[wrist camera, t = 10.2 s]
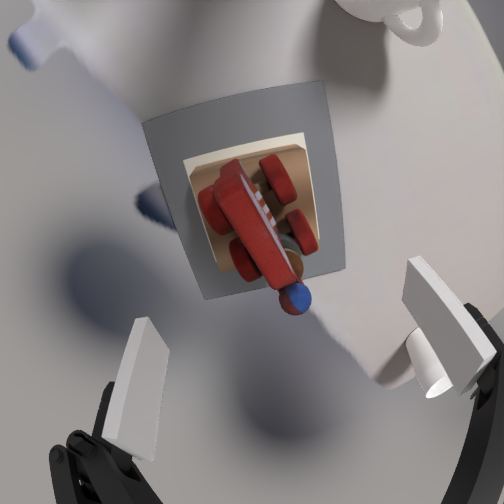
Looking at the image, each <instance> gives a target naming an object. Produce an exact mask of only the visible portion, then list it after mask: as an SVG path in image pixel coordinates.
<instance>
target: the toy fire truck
mask: <svg viewBox="0 0 504 504" xmlns="http://www.w3.org/2000/svg"><path fill="white" fill-rule="evenodd" d="M259 166H260V168H261V170H262V171H263V173H264V175H265V177H266V179H265V180H262V181H260V182H258V183H255V184H253V183H252V182H251V180H250V178H249V177H248V175H247V173H246V171H245V170H244V168H243V166H242V165H241V163H240V161H239V160H238V159H233V160H231V161H230V162H228V163H226V164H225V165H223V166H222V167H221V168H220V177H219V178H218V179H217V180H216V181H215V182H214V185H210V186H208V187H206V188H204V189H203V190H201V191H200V192H199V193H198V202H199V206H200V209H201V211H202V213H203V215H204V217H205V219H206V221H207V222H208V224H209V225H210V227H211V228H212V229H213V230H214V231H215V232H216V233H217V234H218V235H220V236H224V235H227V234H228V233H231V232H232V231H234V230H235V231H236V233H237V234H238V236H239V237H237V238H235V239H233V240H231V241H230V242H229V252H230V255H231V258H232V260H233V263H234V265H235V267H236V269H237V271H238V273H239V274H240V276H241V277H242V278H243V279H244V280H245V281H246V282H252V281H255V280H257V279H259V278H261V277H262V276H264V277H265V279H266V281H267V282H268V284H269V285H270V287H271V288H272V289H274V290H278V292H279V294H280V295H279V302H280V304H281V307H282V309H283V310H284V311H285V312H286V313H288V314H290V315H300V314H303V313H305V312H306V311H307V310H308V309H309V307H310V305H311V300H312V298H311V293H310V291H309V289H308V288H307V286H305V285H304V282H303V280H302V276H303V272H304V266H303V262H302V260H301V252H302V254H303V255H304V256H308V255H310V254H312V253H314V252H316V251H317V250H318V244H317V241H316V239H315V236H314V234H313V232H312V230H311V227H310V225H309V223H308V222H307V220H306V218H305V216H304V214H303V213H302V211H301V210H300V209H295V210H293V211H291V212H289V213H287V214H286V215H285V219H286V221H287V223H288V225H289V227H290V229H291V231H290V232H287V233H285V234H280V233H279V231H278V230H277V228H276V222H275V220H274V218H273V216H272V214H271V212H270V210H269V208H268V207H267V205H266V203H265V201H264V199H263V197H262V195H261V194H264V193H266V192H268V191H270V190H273V192H274V194H275V196H276V198H277V200H278V202H279V203H280V204H281V205H282V206H286V205H287V204H290V203H292V202H294V201H295V200H297V196H298V195H297V192H296V190H295V187H294V185H293V183H292V181H291V179H290V177H289V175H288V173H287V171H286V169H285V168H284V166H283V164H282V162H281V161H280V159H279V158H278V156H277V155H276V154H271V155H269V156H267V157H265V158H263V159H261V160H260V161H259ZM300 250H301V252H300Z"/></svg>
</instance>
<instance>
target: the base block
mask: <svg viewBox="0 0 504 504" xmlns="http://www.w3.org/2000/svg"><path fill="white" fill-rule="evenodd" d="M271 154H276V155H277V156H278V158H279V159H280V161H281V162H282V164H283V166H284V168H285V169H286V171H287V173H288V175H289V177H290V179H291V181H292V183H293V185H294V187H295V190H296V192H297V195H298V196H297V200H295V201H294V202H292V203H290V204H287V205H286V206H282V205H281V204H280V203H279V202H278V200H277V198H276V196H275V194H274V192H273V190H270V191H268V192H266V193H264V194H261V195H262V197H263V199H264V201H265V203H266V205H267V207H268V208H269V210H270V212H271V214H272V216H273V218H274V220H275V222H276V228H277V230H278V231H279V233H280V234H285V233H287V232H290V231H291V229H290V227H289V225H288V223H287V221H286V219H285V215H286V214H287V213H289V212H291V211H293V210H295V209H300V210H301V211H302V213H303V214H304V216H305V218H306V220H307V222H308V223H309V225H310V227H311V230H312V232H313V234H314V236H315V239H316V241H317V244H318V250H317V251H320V246H319V237H318V229H317V221H316V213H315V206H314V199H313V192H312V185H311V179H310V172H309V166H308V160H307V155H306V150H305V149H304V148H302V147H300V146H299V145H297V144H291V145H286V146H281V147H276V148H271V149H266V150H261V151H257V152H252V153H248V154H244V155H239V156H235V157H231V158H227V159H223V160H219V161H215V162H212V163H208V164H204V165H201V166H197V167H195V168H194V170H193V171H192V173H191V175H190V176H189V178H190V181H191V184H192V187H193V191H194V194H195V197H196V200H197V203H198V206H199V202H198V193H199V192H200V191H201V190H203V189H204V188H206V187H208V186H210V185H214V182H215V181H216V180H217V179H218V178H219V177H220V168H221V167H222V166H223V165H225V164H226V163H228V162H230V161H231V160H233V159H238V160H239V161H240V163H241V165H242V166H243V168H244V170H245V171H246V173H247V175H248V177H249V178H250V180H251V182H252V183H253V184H255V183H258V182H260V181H262V180H265V179H266V177H265V175H264V173H263V171H262V170H261V168H260V166H259V161H260V160H261V159H263V158H265V157H267V156H269V155H271ZM199 210H200V213H201V216H202V219H203V222H204V225H205V228H206V231H207V234H208V237H209V240H210V243H211V246H212V249H213V252H214V255H215V258H216V261H217V264H218V267H219V270H220V272H221V273H224V272H229V271H233V270H237V269H236V267H235V265H234V263H233V260H232V258H231V255H230V252H229V242H230V241H231V240H233V239H235V238H237V237H239V236H238V234H237V233H236V231H235V230H234V231H232V232H231V233H228V234H227V235H224V236H220V235H218V234H217V233H216V232H215V231H214V230H213V229H212V228H211V227H210V225H209V224H208V222H207V221H206V219H205V217H204V215H203V213H202V211H201V209H200V206H199ZM317 251H316V252H317ZM300 252H301V250H300ZM301 255H303V254H302V252H301Z"/></svg>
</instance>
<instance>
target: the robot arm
mask: <svg viewBox="0 0 504 504" xmlns="http://www.w3.org/2000/svg"><path fill="white" fill-rule="evenodd" d="M402 301H403V303H404V304H405V306H406V307H407V309H408V310H409V312H410V313H411V315H412V316H413V318H414V319H415V321H416V323H417V324H418V326H419V327H420V329H421V330H422V332H423V334H424V335H425V337H426V339H427V340H428V342H429V344H430V345H431V347H432V349H433V350H434V352H435V354H436V356H437V357H438V359H439V361H440V363H441V364H442V366H443V368H444V370H445V372H446V373H447V375H448V377H449V379H450V381H451V383H452V385H453V387H454V389H455V390H456V392H457V394H458V396H460V395H462V394H463V393H465V392H467V391H468V390H470V389H471V388H472V387H473V386H474V384H475V383H476V382H477V384H478V388H477V389H476V390H475V391H474V393H473V394H472V395H471V398H470V399H472V398H473V397H474V396H475V395H476V397H475V402H474V407H473V412H472V416H471V420H470V425H469V428H468V432H467V436H466V439H465V442H464V446H463V449H462V452H461V455H460V458H459V461H458V464H457V467H456V469H455V472H454V475H453V477H452V480H451V482H450V485H449V487H448V489H447V492H446V494H445V496H444V498H443V500H442V503H441V504H497V502H498V500H499V497H500V494H501V492H502V488H503V486H504V344H503V342H502V341H501V340H500V338H499V337H498V335H497V334H496V333H495V331H494V330H493V328H492V327H491V326H490V325H489V324H488V322H487V320H486V319H485V318H483V315H482V314H481V313H480V312H479V310H478V309H477V308H476V307H474V306H473V305H471V304H470V303H467V304H464V305H462V303H461V302H460V301H459V300H458V298H457V297H456V296H455V295H454V294H453V292H452V291H451V290H450V289H449V288H448V287H447V285H446V284H445V283H444V282H443V281H442V280H441V278H440V277H439V276H438V275H437V274H436V273H435V272H434V271H433V269H432V268H431V267H430V266H429V265H428V264H427V263H426V262H425V261H424V260H423V259H422V258H421V256H417V257H414V258H410V259H408V262H407V270H406V277H405V284H404V290H403V296H402ZM169 355H170V350H169V348H168V347H167V345H166V344H165V342H164V341H163V339H162V338H161V336H160V335H159V333H158V332H157V330H156V329H155V327H154V325H153V324H152V322H151V320H150V319H149V317H143V318H136V319H135V322H134V325H133V328H132V331H131V333H130V336H129V339H128V342H127V346H126V348H125V352H124V355H123V358H122V361H121V364H120V368H119V371H118V374H117V378H116V381H115V382H109V383H108V385H107V386H106V388H105V389H104V391H103V395H102V399H101V402H100V406H99V410H98V413H97V417H96V421H95V425H94V429H93V433H92V436H90V435H88V434H87V433H85V432H84V431H82V430H76V431H73V432H72V433H71V434H70V435H69V437H68V439H67V442H66V447H67V448H65V447H64V446H62V445H55V446H53V448H52V449H51V450H50V453H49V463H50V471H51V477H52V483H53V489H54V494H55V499H56V503H57V504H163V503H162V502H161V500H160V499H159V498H158V496H157V495H156V494H155V492H154V491H153V490H152V488H151V487H150V485H149V484H148V483H147V481H146V480H145V478H144V477H143V475H142V474H141V472H140V471H139V469H138V468H137V466H136V465H135V464H134V462H133V461H132V456H133V457H135V458H137V459H139V460H145V461H154V458H155V448H156V440H157V431H158V424H159V417H160V410H161V403H162V396H163V390H164V383H165V377H166V372H167V366H168V360H169ZM79 480H80V481H81V485H80V483H79Z"/></svg>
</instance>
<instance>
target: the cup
mask: <svg viewBox="0 0 504 504" xmlns="http://www.w3.org/2000/svg"><path fill="white" fill-rule="evenodd" d="M406 348H407V350H408V353H409V356H410V359H411V362H412V365H413V368H414V371H415V374H416V377H417V380H418V383H419V386H420V387H421V389H422V390H423V392H424V394H425V396H426V397H427V398H433V397H435V396H438V395H440V394H442V393H443V392H445V391H447V390H448V389H449V388H451V387H452V386H453V385H452V383H451V381H450V379H449V377H448V375H447V373H446V372H445V370H444V368H443V366H442V364H441V363H440V361H439V359H438V357H437V356H436V354H435V352H434V350H433V349H432V347H431V345H430V344H429V342H428V340H427V339H426V337H425V335H424V334H423V332H422V330H421V329H420V327H418V328H417V329H415V330H414V331H413V332H412V333H411V334H410V335H409V337H408V338H407V340H406Z"/></svg>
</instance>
